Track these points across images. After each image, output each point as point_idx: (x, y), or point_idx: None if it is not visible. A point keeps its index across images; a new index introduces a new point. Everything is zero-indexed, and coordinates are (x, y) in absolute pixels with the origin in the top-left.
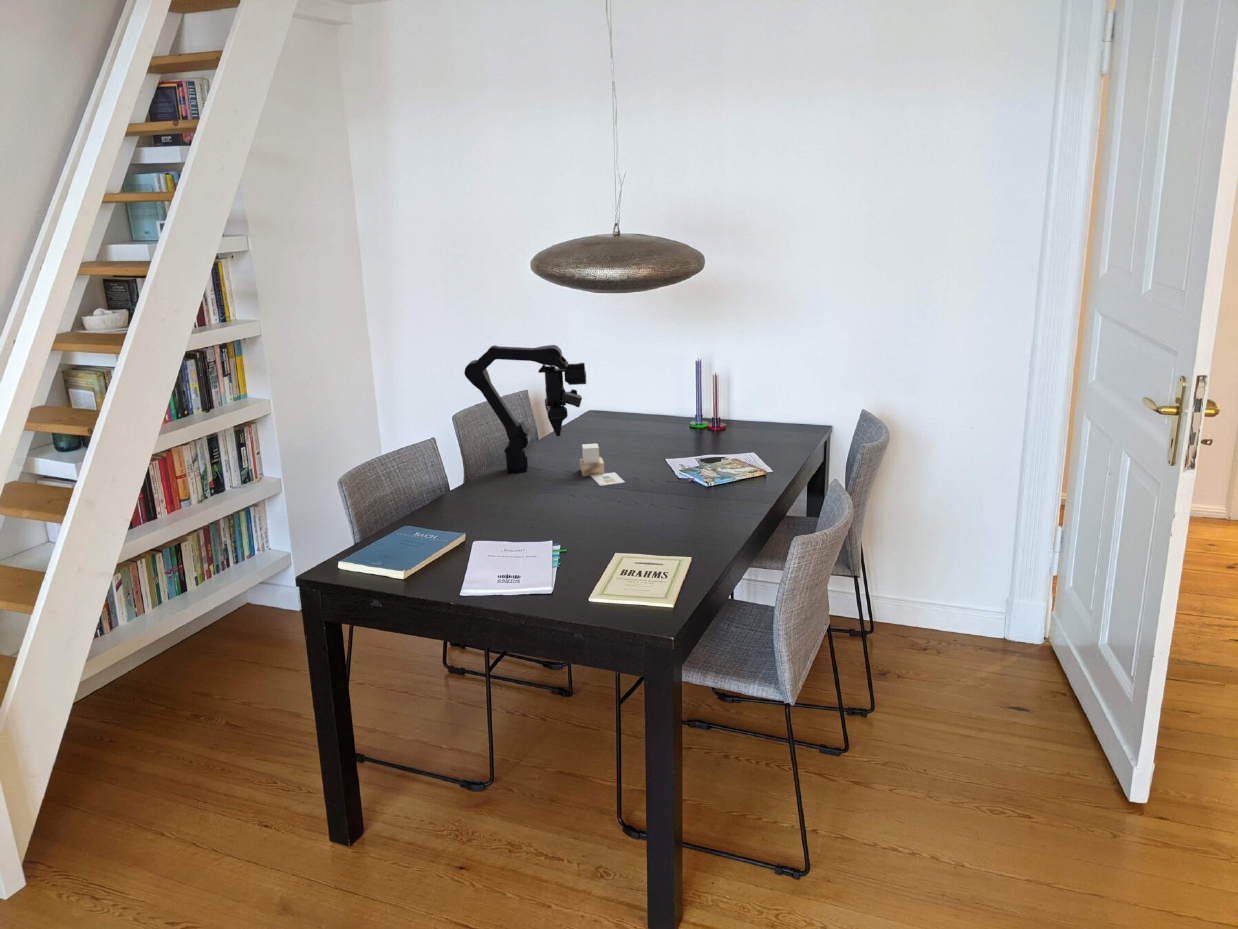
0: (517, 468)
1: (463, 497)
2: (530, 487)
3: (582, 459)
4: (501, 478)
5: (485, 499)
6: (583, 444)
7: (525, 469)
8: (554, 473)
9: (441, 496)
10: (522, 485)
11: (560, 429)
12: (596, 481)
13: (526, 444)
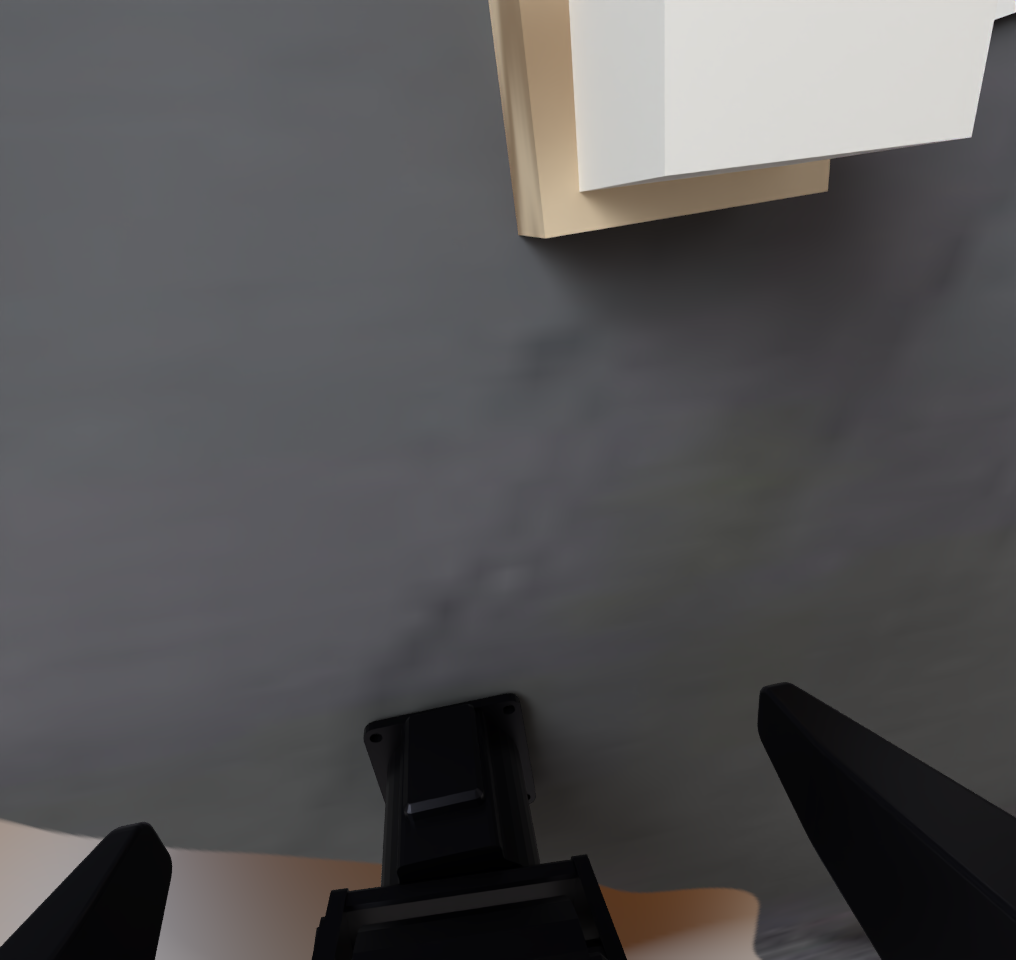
0: (520, 766)
1: None
2: (877, 600)
3: (584, 196)
4: (626, 794)
5: (982, 773)
6: (672, 138)
7: (489, 711)
8: (579, 485)
9: (846, 936)
10: (814, 655)
11: (968, 803)
12: (1005, 14)
13: (577, 929)
